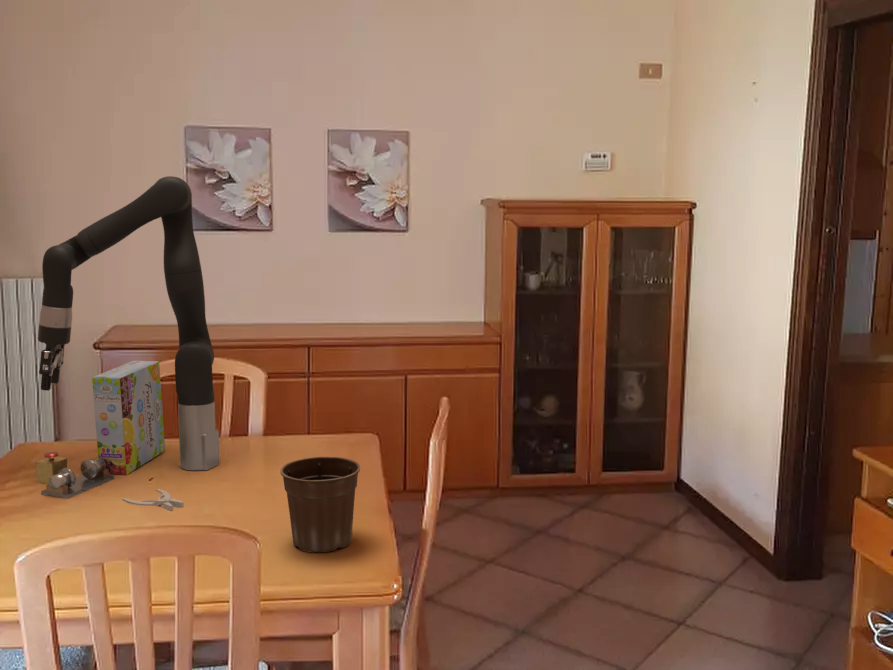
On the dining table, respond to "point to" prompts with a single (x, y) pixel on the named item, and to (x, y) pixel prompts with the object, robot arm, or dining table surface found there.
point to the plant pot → (321, 501)
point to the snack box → (129, 415)
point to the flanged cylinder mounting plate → (78, 479)
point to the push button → (49, 466)
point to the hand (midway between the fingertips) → (49, 386)
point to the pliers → (159, 501)
